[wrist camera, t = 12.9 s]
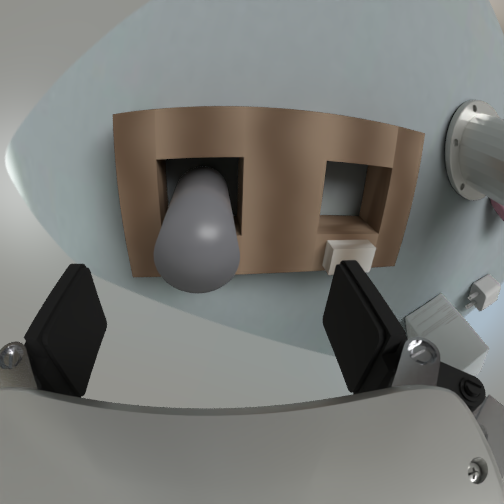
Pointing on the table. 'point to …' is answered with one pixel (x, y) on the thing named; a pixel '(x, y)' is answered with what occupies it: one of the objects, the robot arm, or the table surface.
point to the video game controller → (498, 208)
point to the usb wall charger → (484, 292)
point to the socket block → (271, 182)
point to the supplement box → (448, 334)
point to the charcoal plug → (198, 234)
